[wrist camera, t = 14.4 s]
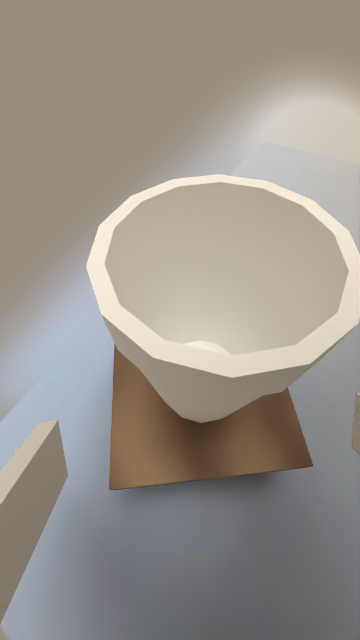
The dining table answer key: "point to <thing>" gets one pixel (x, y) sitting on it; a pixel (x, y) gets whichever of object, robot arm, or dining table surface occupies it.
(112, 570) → the dining table surface
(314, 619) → the dining table surface
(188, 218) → the foam cup
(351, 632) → the dining table surface
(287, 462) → the stool
